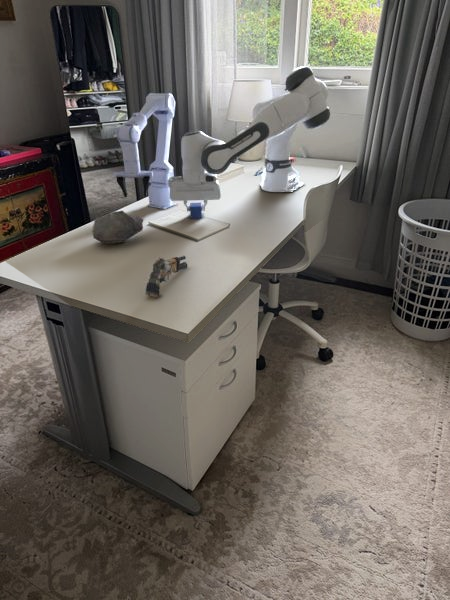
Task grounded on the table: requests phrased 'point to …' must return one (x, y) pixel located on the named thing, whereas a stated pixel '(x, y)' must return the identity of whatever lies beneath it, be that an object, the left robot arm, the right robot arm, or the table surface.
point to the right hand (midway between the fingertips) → (196, 210)
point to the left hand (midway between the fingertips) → (135, 196)
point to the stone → (116, 227)
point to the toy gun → (163, 273)
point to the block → (195, 210)
